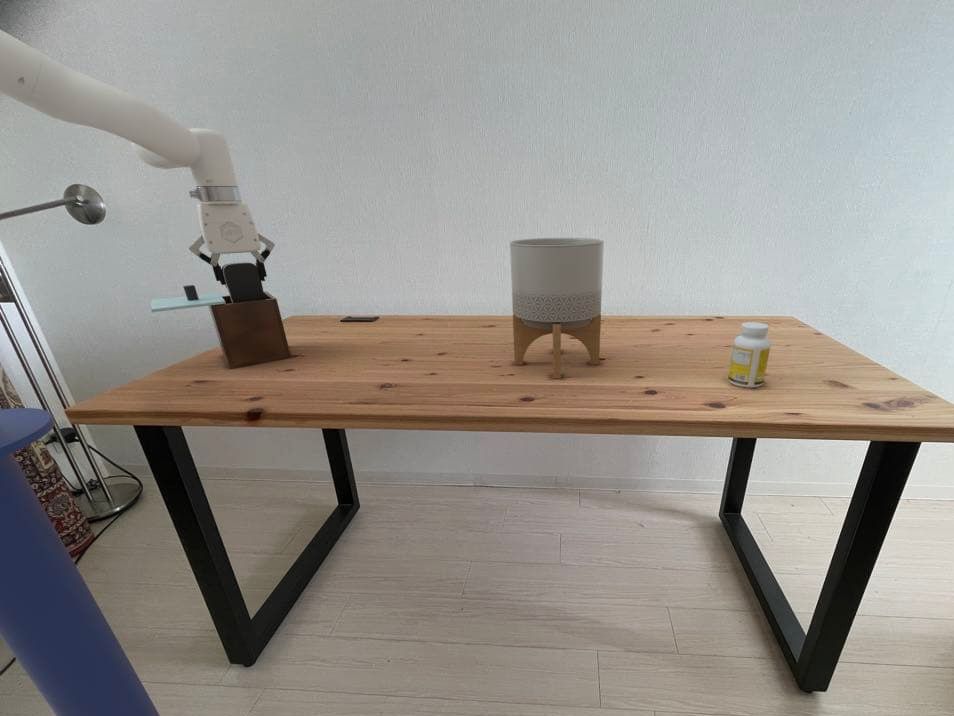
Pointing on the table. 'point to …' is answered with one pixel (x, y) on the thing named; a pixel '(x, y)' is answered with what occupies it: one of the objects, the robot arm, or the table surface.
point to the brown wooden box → (250, 331)
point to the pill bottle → (750, 355)
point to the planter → (556, 293)
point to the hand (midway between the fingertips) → (243, 281)
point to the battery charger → (243, 282)
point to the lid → (187, 300)
